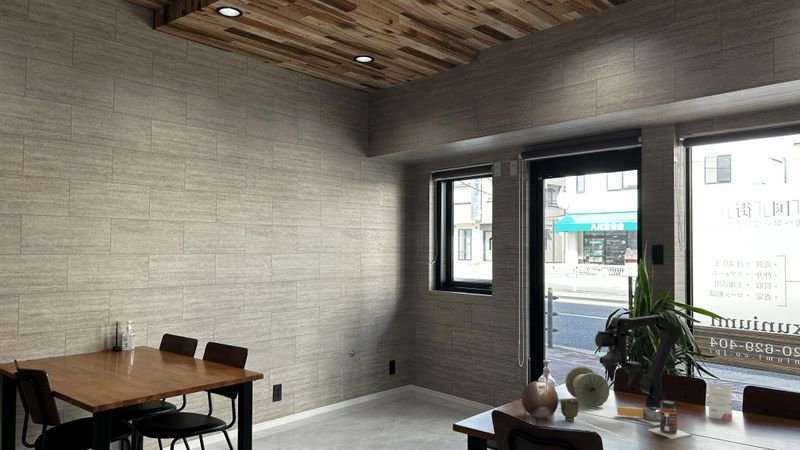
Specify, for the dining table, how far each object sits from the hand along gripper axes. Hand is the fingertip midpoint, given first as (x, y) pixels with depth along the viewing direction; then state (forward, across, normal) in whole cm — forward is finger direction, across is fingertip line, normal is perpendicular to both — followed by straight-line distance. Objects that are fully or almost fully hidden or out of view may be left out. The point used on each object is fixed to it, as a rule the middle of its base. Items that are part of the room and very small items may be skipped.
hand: (620, 383), depth 249 cm
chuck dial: (+12, +10, +1) cm, 16 cm away
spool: (+13, -20, 0) cm, 24 cm away
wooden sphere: (+13, -9, -36) cm, 39 cm away
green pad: (+13, +28, -4) cm, 31 cm away
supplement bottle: (+13, +28, -4) cm, 31 cm away
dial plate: (+13, +13, +5) cm, 19 cm away
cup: (+13, 0, -28) cm, 31 cm away
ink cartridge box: (+13, +22, +34) cm, 43 cm away
